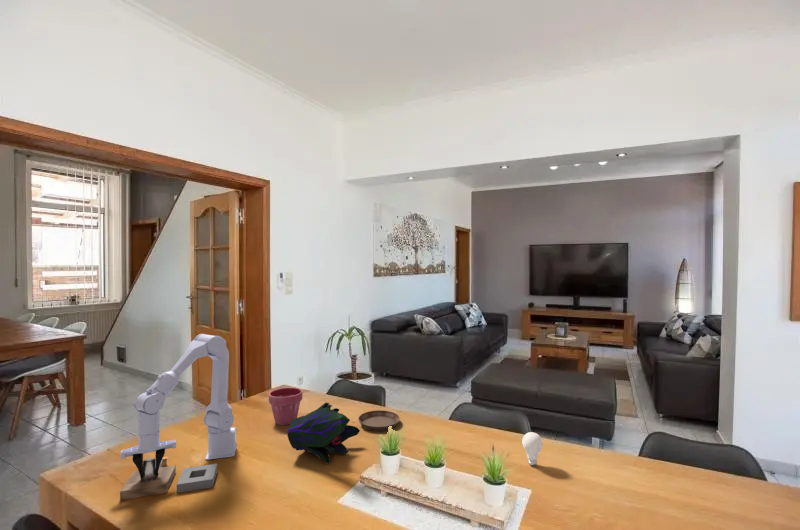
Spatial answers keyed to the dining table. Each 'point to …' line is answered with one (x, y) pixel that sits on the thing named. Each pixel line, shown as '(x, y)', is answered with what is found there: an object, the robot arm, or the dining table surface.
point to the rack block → (197, 478)
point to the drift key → (162, 463)
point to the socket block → (148, 484)
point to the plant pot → (285, 404)
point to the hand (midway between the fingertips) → (149, 475)
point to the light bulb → (532, 446)
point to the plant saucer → (378, 420)
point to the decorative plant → (321, 432)
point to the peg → (149, 470)
